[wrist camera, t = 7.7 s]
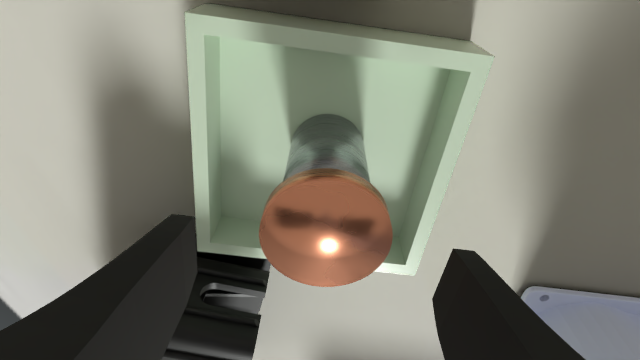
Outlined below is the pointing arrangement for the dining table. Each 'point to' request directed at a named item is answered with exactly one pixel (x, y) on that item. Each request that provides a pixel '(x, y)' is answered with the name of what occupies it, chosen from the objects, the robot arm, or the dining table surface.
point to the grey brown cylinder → (326, 208)
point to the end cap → (221, 309)
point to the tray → (323, 98)
